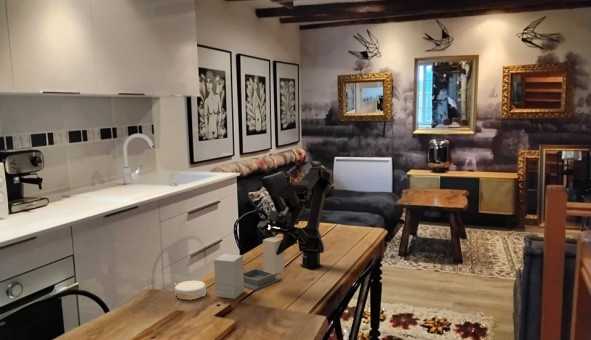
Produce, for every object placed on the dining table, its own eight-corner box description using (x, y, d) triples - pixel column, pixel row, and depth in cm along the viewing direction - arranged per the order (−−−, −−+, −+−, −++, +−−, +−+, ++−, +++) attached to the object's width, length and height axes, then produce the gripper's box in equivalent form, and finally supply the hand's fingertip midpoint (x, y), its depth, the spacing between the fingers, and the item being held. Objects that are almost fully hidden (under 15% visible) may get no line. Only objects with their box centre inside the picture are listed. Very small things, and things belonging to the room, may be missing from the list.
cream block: (273, 267, 163) (272, 236, 162) (284, 270, 160) (283, 238, 159) (263, 271, 160) (262, 239, 158) (274, 274, 156) (274, 242, 155)
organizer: (257, 272, 178) (257, 265, 178) (281, 279, 171) (281, 272, 171) (230, 282, 168) (230, 275, 167) (255, 290, 160) (254, 283, 160)
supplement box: (244, 291, 159) (244, 255, 158) (234, 299, 152) (234, 261, 151) (224, 288, 162) (224, 253, 160) (214, 296, 155) (213, 259, 153)
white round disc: (191, 303, 150) (190, 292, 149) (168, 297, 155) (168, 286, 155) (212, 293, 158) (212, 283, 158) (190, 287, 163) (190, 278, 163)
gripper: (260, 198, 166) (238, 235, 159) (302, 204, 154) (281, 245, 147) (275, 216, 173) (255, 252, 166) (316, 223, 162) (296, 263, 154)
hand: (270, 252), depth 158 cm, fingers closed on cream block, 5 cm apart
